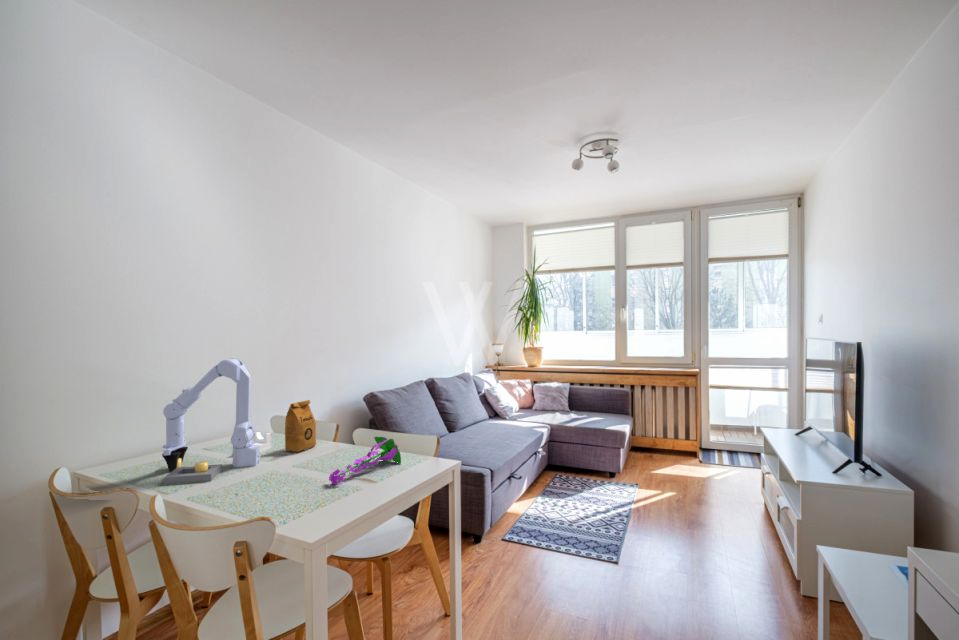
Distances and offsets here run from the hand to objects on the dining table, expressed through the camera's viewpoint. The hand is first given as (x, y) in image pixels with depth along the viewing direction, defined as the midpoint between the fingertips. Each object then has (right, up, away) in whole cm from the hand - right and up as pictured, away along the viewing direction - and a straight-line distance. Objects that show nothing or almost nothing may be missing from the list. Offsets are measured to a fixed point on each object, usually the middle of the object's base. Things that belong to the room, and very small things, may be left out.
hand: (175, 468), depth 167 cm
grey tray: (+13, -2, -9) cm, 16 cm away
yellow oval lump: (0, -1, 0) cm, 1 cm away
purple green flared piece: (+75, -2, +1) cm, 75 cm away
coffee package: (+36, -2, +31) cm, 47 cm away
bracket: (+16, -2, +27) cm, 32 cm away
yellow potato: (+16, 0, -9) cm, 18 cm away
